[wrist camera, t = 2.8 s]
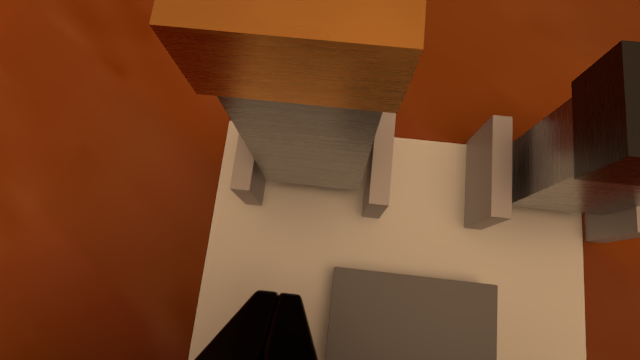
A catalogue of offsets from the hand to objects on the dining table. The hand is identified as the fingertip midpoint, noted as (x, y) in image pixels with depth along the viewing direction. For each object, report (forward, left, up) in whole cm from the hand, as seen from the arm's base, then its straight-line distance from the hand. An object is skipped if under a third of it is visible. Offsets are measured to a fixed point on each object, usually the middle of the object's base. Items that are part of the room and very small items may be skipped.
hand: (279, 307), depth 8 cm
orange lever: (+4, +2, -5) cm, 7 cm away
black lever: (+8, -5, -5) cm, 10 cm away
